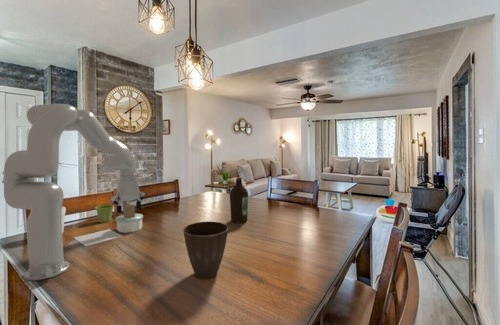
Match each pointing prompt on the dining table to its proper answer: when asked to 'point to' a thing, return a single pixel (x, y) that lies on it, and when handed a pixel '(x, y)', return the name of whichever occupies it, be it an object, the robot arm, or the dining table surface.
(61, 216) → the foam cup
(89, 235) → the mat
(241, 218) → the olive oil
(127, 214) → the lid
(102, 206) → the plant pot
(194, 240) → the plant pot
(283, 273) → the dining table surface
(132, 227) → the bowl
